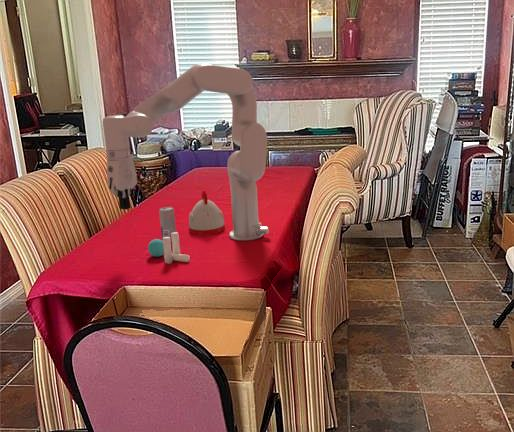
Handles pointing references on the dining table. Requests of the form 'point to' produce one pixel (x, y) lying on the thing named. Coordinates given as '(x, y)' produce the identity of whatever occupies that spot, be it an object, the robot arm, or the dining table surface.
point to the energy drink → (167, 221)
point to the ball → (156, 247)
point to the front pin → (180, 257)
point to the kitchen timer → (205, 217)
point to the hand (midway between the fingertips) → (125, 208)
